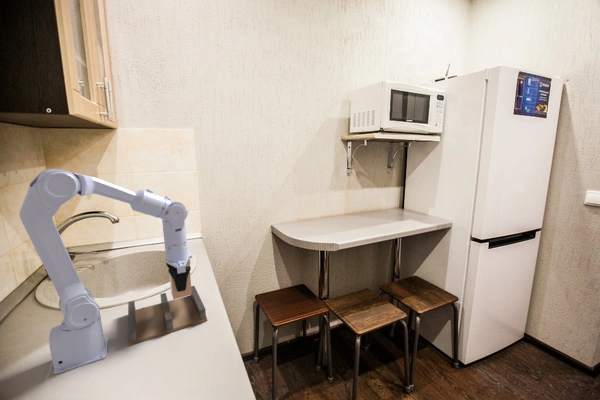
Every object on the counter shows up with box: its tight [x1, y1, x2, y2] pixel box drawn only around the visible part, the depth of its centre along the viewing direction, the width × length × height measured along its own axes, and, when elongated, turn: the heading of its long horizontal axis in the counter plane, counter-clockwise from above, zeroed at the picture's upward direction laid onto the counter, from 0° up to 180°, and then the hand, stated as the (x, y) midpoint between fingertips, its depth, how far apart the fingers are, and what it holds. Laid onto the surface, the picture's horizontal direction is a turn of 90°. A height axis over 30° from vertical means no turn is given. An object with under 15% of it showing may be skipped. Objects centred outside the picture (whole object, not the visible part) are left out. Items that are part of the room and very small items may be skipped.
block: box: [168, 271, 192, 300], centre depth 81 cm, size 5×4×7 cm
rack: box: [127, 285, 208, 346], centre depth 80 cm, size 19×16×4 cm
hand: (180, 287), depth 81 cm, fingers closed on block, 4 cm apart
